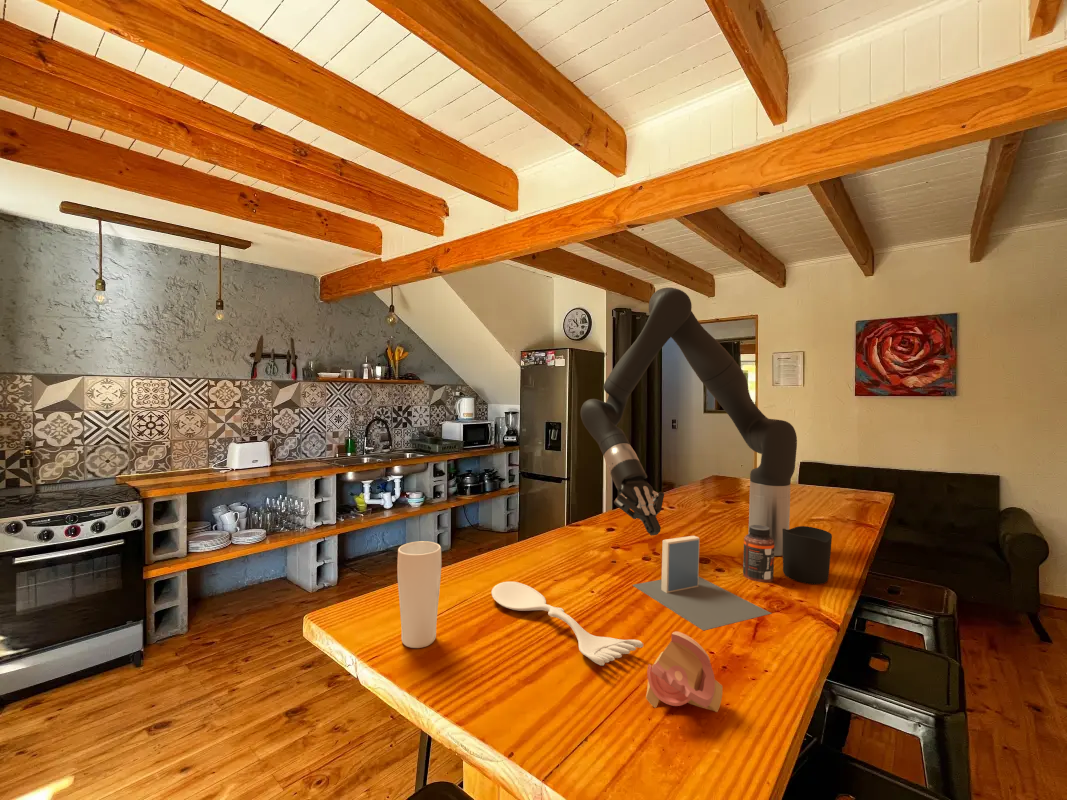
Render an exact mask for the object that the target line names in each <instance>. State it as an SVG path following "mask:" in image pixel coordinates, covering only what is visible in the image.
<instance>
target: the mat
mask: <svg viewBox="0 0 1067 800" xmlns="http://www.w3.org/2000/svg"><path fill="white" fill-rule="evenodd" d="M661 584H662V578H661V579H656V580H651V581H646V582H640V583H635V584H632V586H633V587H635V588H636V589H637V590H639V591H640V592H642V593H643V594H645V595H647V596H648V597H650V598H651V599H652V600H654V601H657V602H658V603H659V604H661V605H662V606H664V607H666V608H667V609H669V610H670V611H672V612H674V613H675V614H676V615H678V616H679V617H681V618H683V619H684V620H686V621H688V622H690V623H691V624H693V625H694V626H695V627H697V628H698V629H700V630H702V631H707V630H712V629H716V628H718V627H719V628H720V627H724V626H727V625H732V624H735V623H740V622H744V621H747V620H752V619H757V618H761V617H763V616H768V615H772V612H770V611H768V610H766V609H764V608H762V607H761V606H758V605H757V604H755V603H753V602H750V601H749V600H747V599H744V598H742V597H740V596H739V595H737V594H735V593H732V592H730V591H728V590H726V589H725V588H722V587H721V586H718V585H717V584H714V583H713V582H712V581H711V582H710V581H709V580H707V579H705V578H703V577H701V576H699V575H698V587H694V588H689V589H684V590H679V591H674V592H669V593H666V592H664V591H662V590H661Z"/></svg>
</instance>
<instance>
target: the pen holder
mask: <svg viewBox="0 0 1067 800" xmlns="http://www.w3.org/2000/svg"><path fill="white" fill-rule="evenodd" d="M832 541H833V534H832V533H831V532H829V531H826V530H825V529H821V528H819V527H813V526H806V525H800V526H799V525H798V526H795V527H793V528H789V530H786V529H783V555H782V573H783V574H784V575H785V577H787V578H788V579H790V580H793V581H795V582H798V583H801V584H807V583H808V584H809V585H810V584H811V585H823V584H826V583H827V582H828V580H829V575H830V567H831V565H830V564H831V553H832V552H831V551H832ZM825 582H826V583H825Z"/></svg>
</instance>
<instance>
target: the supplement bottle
mask: <svg viewBox="0 0 1067 800" xmlns="http://www.w3.org/2000/svg"><path fill="white" fill-rule="evenodd" d="M749 532H750V534H746V535H745V536H744V538H743V557H742V560H743V562H742V563H743V564H742V566H743V567H742V575H743V576H744V578H746V579H748V580H749V581H750V580H751V581H754V582H758V583H773V581H774V575H775V574H774V570H775V569H774V566H775V565H774V563H775V556H774V540H773V539H772V538H771V537H770V529H769V528H768V527H766V526H762V525H750V526H749V525H748V533H749Z"/></svg>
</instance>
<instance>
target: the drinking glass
mask: <svg viewBox="0 0 1067 800" xmlns="http://www.w3.org/2000/svg"><path fill="white" fill-rule="evenodd" d="M396 561H397V564H396V565H397V567H396V569H397V589H398V598H399V599H398V600H399V611H400V612H399V613H400V624H401V625H400V626H401V642H402V644H403V646H405V647H408V648H411V649H420V648H421V649H422V648H425V647H428V646H430V645H431V644H433V643H434V641H435V640H436V637H437V622H438V621H437V620H438V611H439V610H438V608H439V598H440V588H441V587H440V586H441V577H442V547H441V545H440V544H439V543H437V542H434V541H427V540H424V541H423V540H420V541H411V542H407V543H404V544H402V545H401V546H399V547H398V549H397V560H396Z"/></svg>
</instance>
